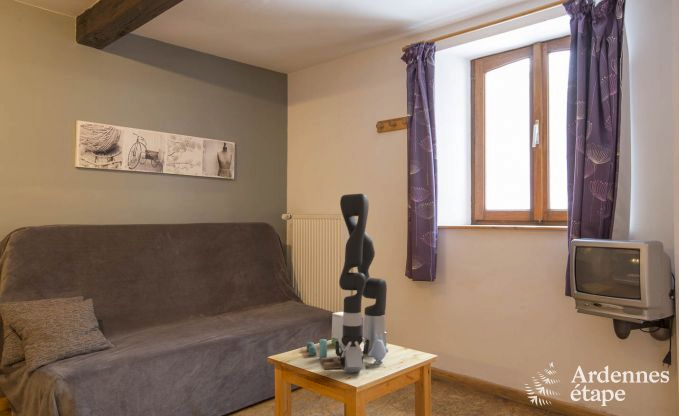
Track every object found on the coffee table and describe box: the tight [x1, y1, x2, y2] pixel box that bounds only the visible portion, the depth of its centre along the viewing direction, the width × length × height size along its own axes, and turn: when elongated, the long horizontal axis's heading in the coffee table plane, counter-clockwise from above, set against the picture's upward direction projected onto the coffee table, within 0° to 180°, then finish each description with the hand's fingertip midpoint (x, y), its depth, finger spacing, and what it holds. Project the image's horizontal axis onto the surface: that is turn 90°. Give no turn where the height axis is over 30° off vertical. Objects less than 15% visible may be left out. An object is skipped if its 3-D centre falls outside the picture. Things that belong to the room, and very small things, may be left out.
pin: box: [318, 338, 328, 361], centre depth 197 cm, size 3×3×9 cm
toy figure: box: [367, 334, 389, 365], centre depth 195 cm, size 11×6×12 cm, turn 125°
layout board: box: [299, 341, 319, 359], centre depth 205 cm, size 8×13×5 cm, turn 13°
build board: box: [320, 344, 344, 371], centre depth 191 cm, size 11×8×9 cm
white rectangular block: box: [341, 342, 364, 374], centre depth 185 cm, size 6×12×6 cm
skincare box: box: [330, 311, 344, 346], centre depth 220 cm, size 8×7×16 cm
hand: (351, 365), depth 185 cm, fingers open, 6 cm apart
